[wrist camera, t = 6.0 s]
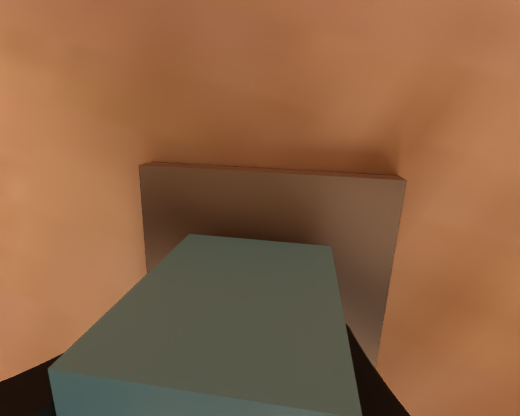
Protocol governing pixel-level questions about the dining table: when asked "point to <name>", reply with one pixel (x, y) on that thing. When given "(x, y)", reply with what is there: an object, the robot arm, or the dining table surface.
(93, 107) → the dining table surface
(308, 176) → the walnut board
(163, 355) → the teal block
